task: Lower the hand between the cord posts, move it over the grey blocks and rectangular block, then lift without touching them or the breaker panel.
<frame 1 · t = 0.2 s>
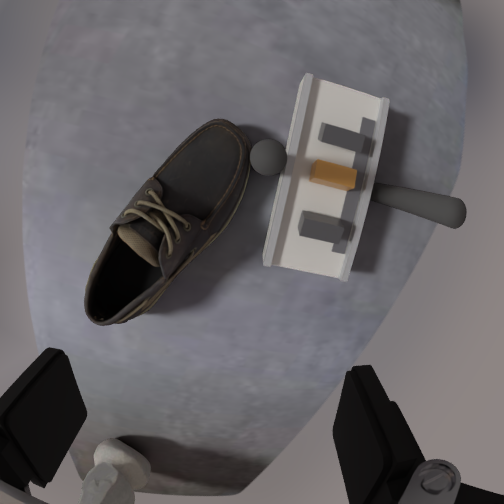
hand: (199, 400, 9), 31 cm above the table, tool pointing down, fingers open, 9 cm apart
grey block 3: (320, 227, 33), point 6 cm above the table, hinge at 12.0°
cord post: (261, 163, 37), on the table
breaker panel: (321, 177, 37), on the table
grey block 1: (341, 137, 31), point 6 cm above the table, hinge at 12.0°
boat shoe: (174, 226, 40), on the table
rectangular block 2: (332, 175, 32), point 6 cm above the table, hinge at -12.0°
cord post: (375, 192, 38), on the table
sculpture: (128, 444, 51), on the table
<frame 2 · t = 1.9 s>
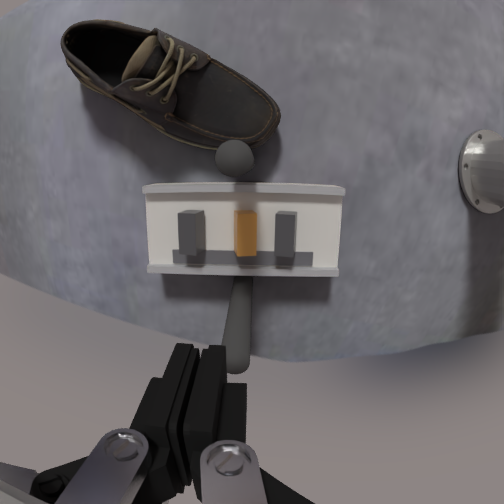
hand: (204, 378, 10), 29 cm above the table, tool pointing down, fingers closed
grey block 3: (191, 231, 33), point 6 cm above the table, hinge at 12.0°
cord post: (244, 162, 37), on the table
breaker panel: (243, 223, 39), on the table
grey block 1: (285, 233, 33), point 6 cm above the table, hinge at 12.0°
boat shoe: (167, 90, 35), on the table
rectangular block 2: (244, 232, 33), point 6 cm above the table, hinge at -12.0°
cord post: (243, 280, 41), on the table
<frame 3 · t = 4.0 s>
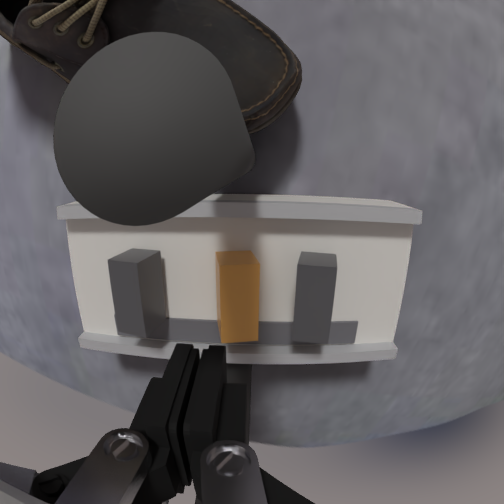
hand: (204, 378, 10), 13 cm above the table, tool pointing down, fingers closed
grey block 3: (138, 291, 17), point 6 cm above the table, hinge at 12.0°
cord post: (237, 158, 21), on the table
breaker panel: (236, 264, 23), on the table
grey block 1: (314, 297, 17), point 6 cm above the table, hinge at 12.0°
boat shoe: (117, 40, 18), on the table
rectangular block 2: (236, 295, 17), point 6 cm above the table, hinge at -12.0°
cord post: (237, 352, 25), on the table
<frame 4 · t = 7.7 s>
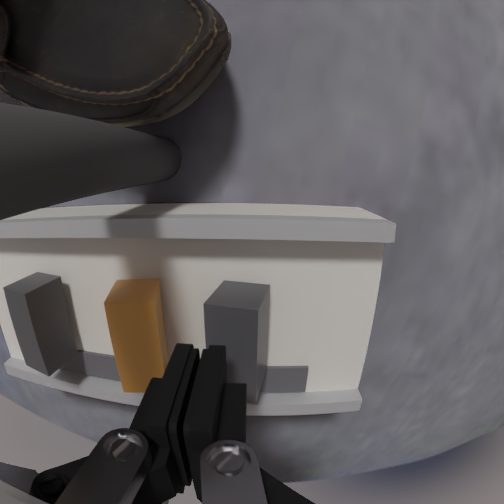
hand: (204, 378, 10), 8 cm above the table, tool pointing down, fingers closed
grey block 3: (41, 323, 13), point 6 cm above the table, hinge at 12.0°
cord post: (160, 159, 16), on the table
breaker panel: (165, 288, 18), on the table
grey block 1: (239, 342, 13), point 6 cm above the table, hinge at 12.0°
boat shoe: (48, 27, 14), on the table
rectangular block 2: (140, 336, 13), point 6 cm above the table, hinge at -12.0°
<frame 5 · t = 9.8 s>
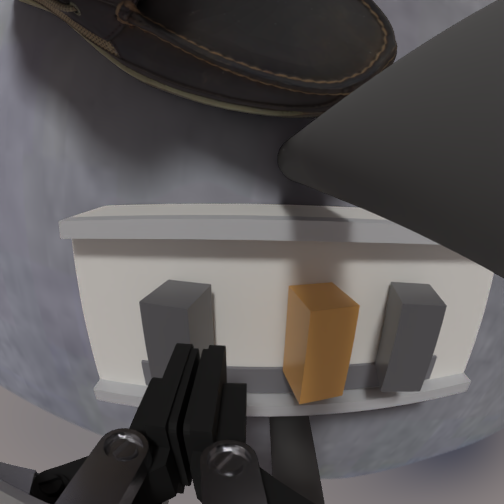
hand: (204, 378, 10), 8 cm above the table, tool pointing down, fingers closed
grey block 3: (181, 340, 13), point 6 cm above the table, hinge at 12.0°
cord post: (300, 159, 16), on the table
breaker panel: (294, 291, 18), on the table
grey block 1: (407, 337, 13), point 6 cm above the table, hinge at 12.0°
rectangular block 2: (317, 343, 13), point 6 cm above the table, hinge at -12.0°
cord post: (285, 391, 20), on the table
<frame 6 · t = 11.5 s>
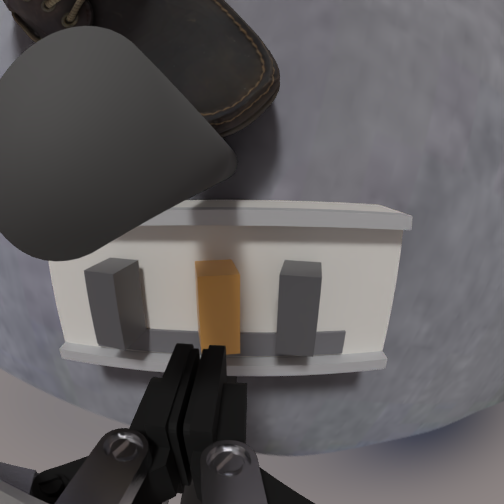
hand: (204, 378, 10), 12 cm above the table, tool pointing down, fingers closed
grey block 3: (116, 302, 16), point 6 cm above the table, hinge at 12.0°
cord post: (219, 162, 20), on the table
breaker panel: (219, 272, 22), on the table
grey block 1: (299, 307, 16), point 6 cm above the table, hinge at 12.0°
boat shoe: (109, 22, 17), on the table
rectangular block 2: (216, 307, 16), point 6 cm above the table, hinge at -12.0°
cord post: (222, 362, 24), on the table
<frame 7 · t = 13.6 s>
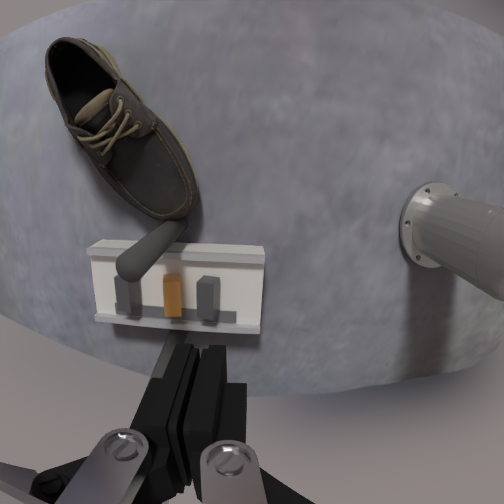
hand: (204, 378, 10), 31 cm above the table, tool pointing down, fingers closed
grey block 3: (127, 291, 36), point 6 cm above the table, hinge at 12.0°
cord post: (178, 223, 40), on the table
breaker panel: (178, 278, 42), on the table
grey block 1: (208, 297, 36), point 6 cm above the table, hinge at 12.0°
boat shoe: (122, 128, 36), on the table
rectangular block 2: (172, 295, 36), point 6 cm above the table, hinge at -12.0°
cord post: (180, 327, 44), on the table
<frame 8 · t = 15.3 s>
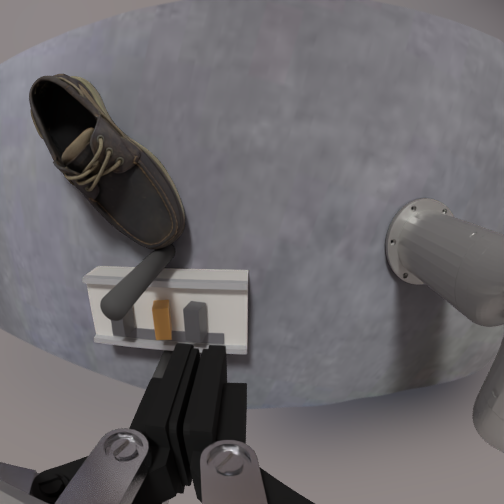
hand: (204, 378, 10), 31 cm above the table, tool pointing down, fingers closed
grey block 3: (121, 316, 38), point 6 cm above the table, hinge at 12.0°
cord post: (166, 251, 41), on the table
breaker panel: (170, 301, 43), on the table
grey block 1: (195, 321, 38), point 6 cm above the table, hinge at 12.0°
boat shoe: (110, 159, 38), on the table
rectangular block 2: (162, 320, 38), point 6 cm above the table, hinge at -12.0°
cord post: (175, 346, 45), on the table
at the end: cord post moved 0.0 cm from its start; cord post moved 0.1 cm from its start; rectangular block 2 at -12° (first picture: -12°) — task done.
